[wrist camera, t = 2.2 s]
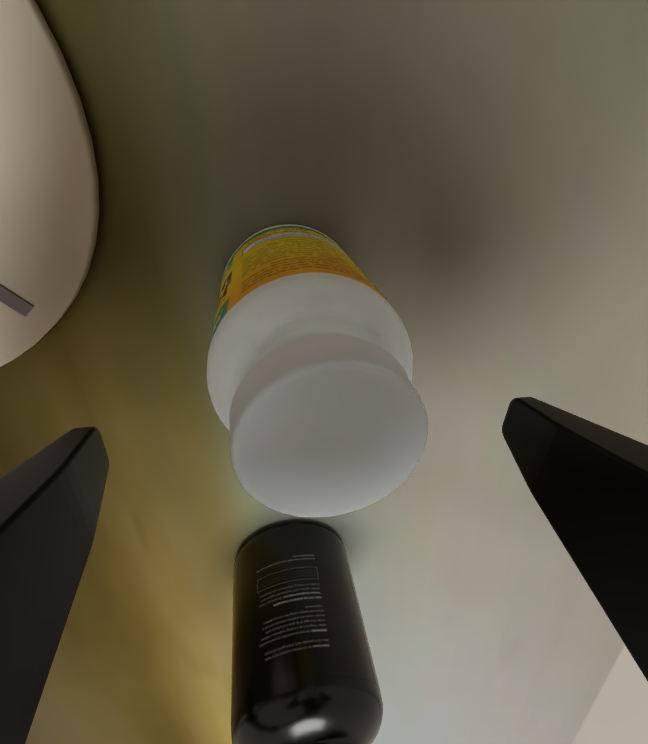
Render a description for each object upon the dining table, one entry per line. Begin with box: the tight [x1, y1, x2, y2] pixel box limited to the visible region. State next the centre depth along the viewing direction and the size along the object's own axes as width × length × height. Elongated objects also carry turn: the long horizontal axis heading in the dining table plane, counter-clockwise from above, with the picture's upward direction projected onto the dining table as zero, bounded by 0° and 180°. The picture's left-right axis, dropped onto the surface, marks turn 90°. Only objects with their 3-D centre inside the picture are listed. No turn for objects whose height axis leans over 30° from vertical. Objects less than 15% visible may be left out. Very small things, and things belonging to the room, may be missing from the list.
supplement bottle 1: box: [207, 224, 428, 517], centre depth 12 cm, size 5×5×10 cm
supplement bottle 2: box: [231, 523, 383, 744], centre depth 20 cm, size 7×7×12 cm
